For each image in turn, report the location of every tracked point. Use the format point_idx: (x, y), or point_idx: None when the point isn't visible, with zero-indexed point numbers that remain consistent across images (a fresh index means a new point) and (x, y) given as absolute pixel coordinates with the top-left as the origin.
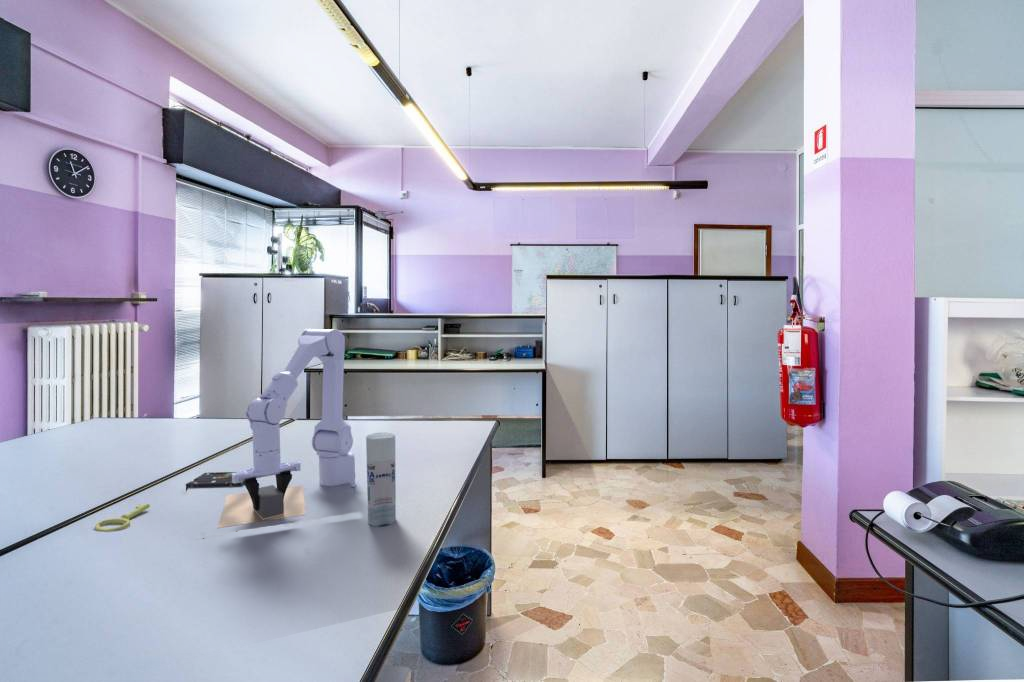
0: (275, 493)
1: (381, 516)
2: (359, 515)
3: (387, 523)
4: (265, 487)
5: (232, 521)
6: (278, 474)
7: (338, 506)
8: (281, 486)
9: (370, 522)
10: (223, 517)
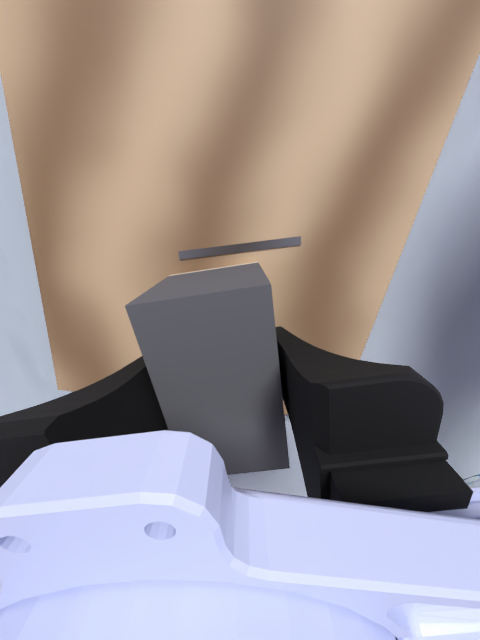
0: (254, 448)
1: None
2: (463, 447)
3: None
4: (213, 314)
5: (99, 358)
6: (321, 488)
7: (467, 353)
8: (299, 457)
9: None
10: (53, 299)
